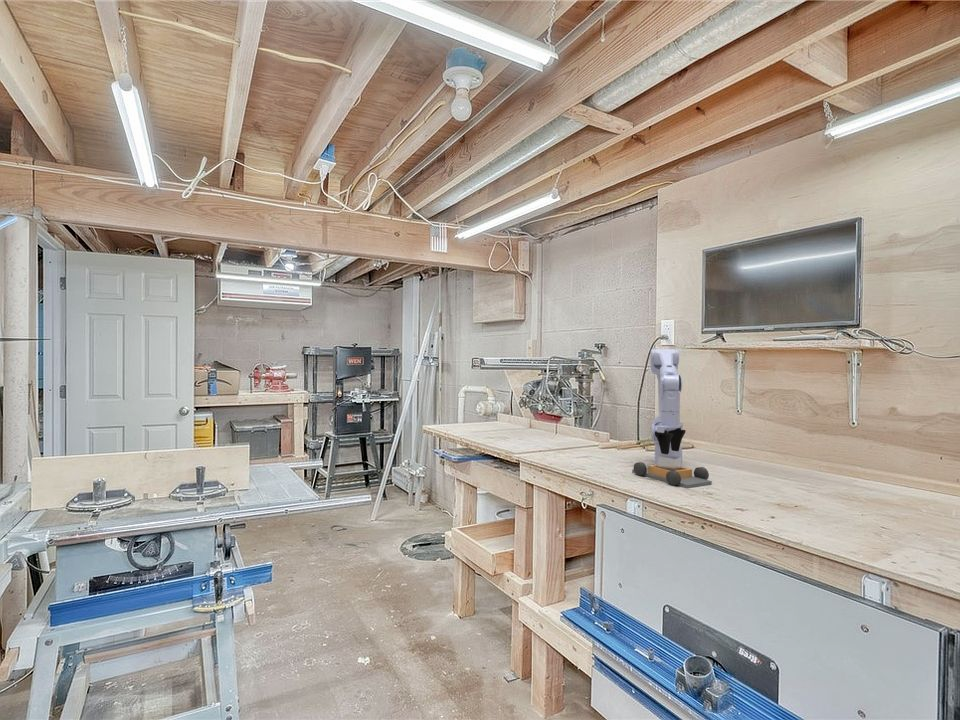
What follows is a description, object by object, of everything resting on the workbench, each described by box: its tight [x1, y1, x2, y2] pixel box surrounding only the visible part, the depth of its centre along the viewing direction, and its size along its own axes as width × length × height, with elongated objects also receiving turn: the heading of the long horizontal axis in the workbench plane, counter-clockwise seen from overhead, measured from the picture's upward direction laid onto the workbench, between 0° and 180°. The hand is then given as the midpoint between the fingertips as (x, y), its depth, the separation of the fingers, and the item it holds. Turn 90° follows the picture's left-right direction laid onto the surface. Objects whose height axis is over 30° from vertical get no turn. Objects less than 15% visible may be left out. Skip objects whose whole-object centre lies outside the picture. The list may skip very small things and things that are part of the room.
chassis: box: [631, 461, 713, 489], centre depth 160 cm, size 14×23×4 cm, turn 27°
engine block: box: [658, 455, 681, 471], centre depth 160 cm, size 4×6×6 cm, turn 45°
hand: (670, 452), depth 160 cm, fingers open, 7 cm apart
